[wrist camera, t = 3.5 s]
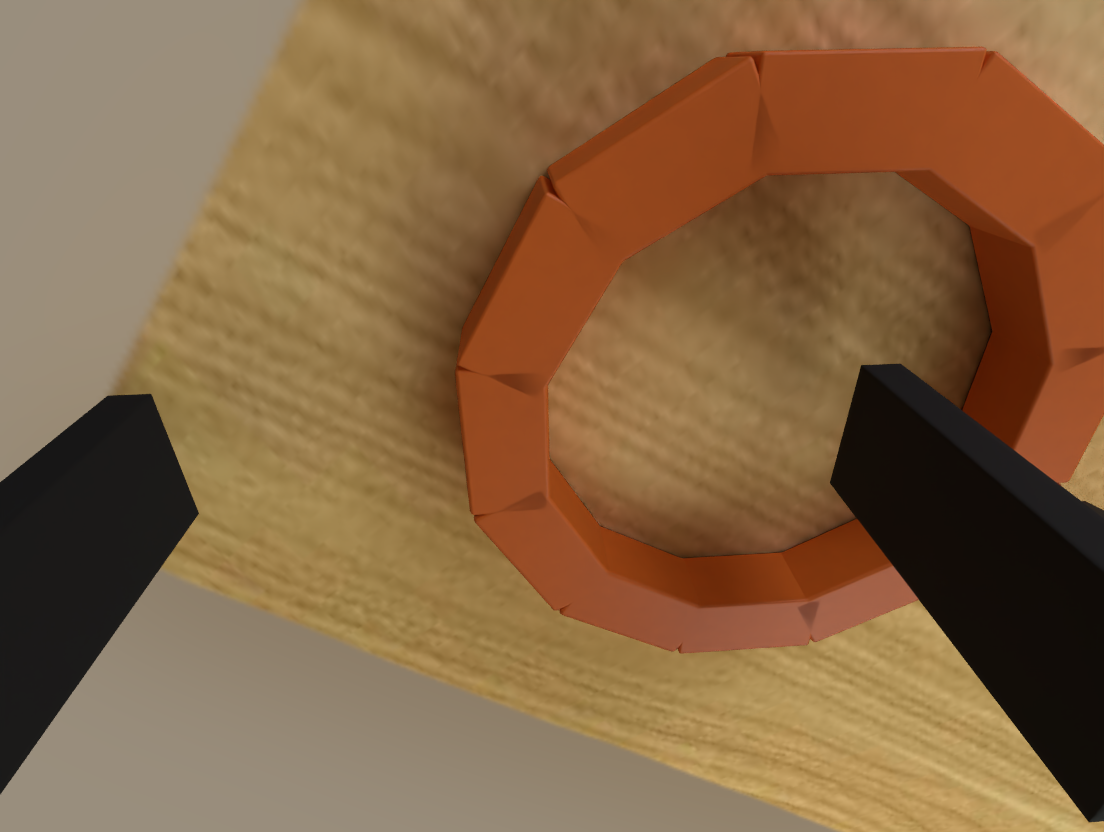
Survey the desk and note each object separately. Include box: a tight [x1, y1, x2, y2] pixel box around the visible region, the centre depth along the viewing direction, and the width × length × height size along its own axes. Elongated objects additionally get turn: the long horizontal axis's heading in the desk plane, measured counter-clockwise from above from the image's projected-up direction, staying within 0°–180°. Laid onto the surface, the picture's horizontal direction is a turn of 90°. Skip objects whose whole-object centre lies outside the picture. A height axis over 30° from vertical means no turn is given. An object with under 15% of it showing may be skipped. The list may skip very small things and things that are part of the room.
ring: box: [455, 47, 1104, 653], centre depth 12 cm, size 12×12×2 cm
